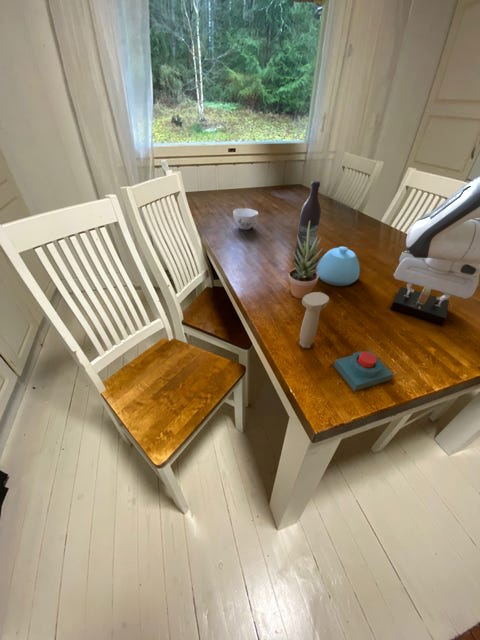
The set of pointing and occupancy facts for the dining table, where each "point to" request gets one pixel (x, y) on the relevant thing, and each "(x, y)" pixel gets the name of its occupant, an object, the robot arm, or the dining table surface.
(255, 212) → the teacup
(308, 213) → the wine bottle
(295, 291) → the potted plant
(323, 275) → the sugar bowl
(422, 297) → the turn handle
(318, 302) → the handle
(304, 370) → the dining table surface
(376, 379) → the button block
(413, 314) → the rod panel
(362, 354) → the red button
